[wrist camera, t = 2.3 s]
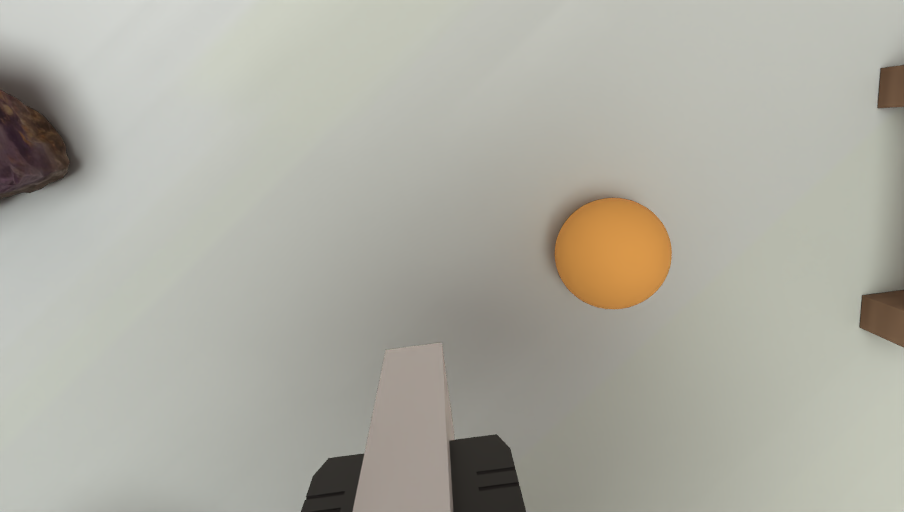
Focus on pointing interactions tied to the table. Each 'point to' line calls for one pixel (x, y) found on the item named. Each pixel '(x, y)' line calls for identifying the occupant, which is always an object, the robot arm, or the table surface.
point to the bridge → (896, 311)
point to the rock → (28, 149)
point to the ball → (613, 253)
